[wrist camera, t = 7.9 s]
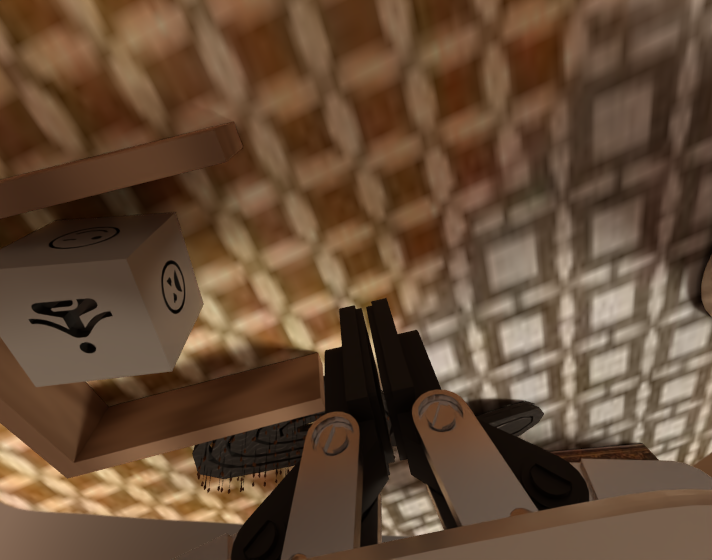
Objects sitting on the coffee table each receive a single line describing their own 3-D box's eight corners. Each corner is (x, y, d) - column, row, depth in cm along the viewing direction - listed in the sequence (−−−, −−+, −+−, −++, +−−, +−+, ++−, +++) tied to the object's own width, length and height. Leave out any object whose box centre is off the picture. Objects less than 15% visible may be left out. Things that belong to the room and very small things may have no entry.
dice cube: (176, 211, 15) (125, 258, 11) (204, 303, 18) (172, 371, 13) (57, 219, 15) (-46, 272, 10) (103, 313, 17) (35, 387, 13)
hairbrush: (537, 474, 26) (195, 518, 21) (510, 433, 30) (206, 461, 24) (586, 400, 23) (181, 427, 17) (548, 362, 26) (197, 374, 20)
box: (233, 121, 14) (214, 130, 11) (322, 364, 21) (325, 410, 18) (-104, 205, 13) (-222, 238, 10) (101, 421, 21) (67, 478, 18)
